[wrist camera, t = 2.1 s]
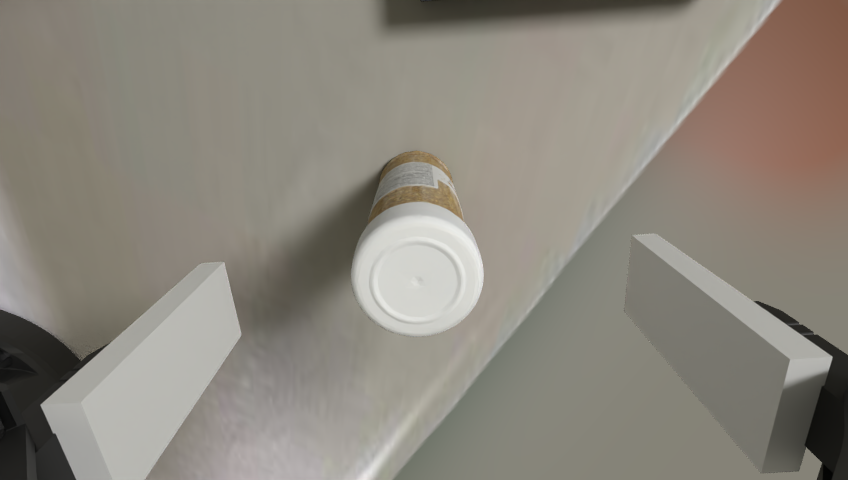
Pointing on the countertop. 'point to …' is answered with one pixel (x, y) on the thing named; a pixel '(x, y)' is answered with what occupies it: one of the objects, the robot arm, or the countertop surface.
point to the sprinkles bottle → (416, 251)
